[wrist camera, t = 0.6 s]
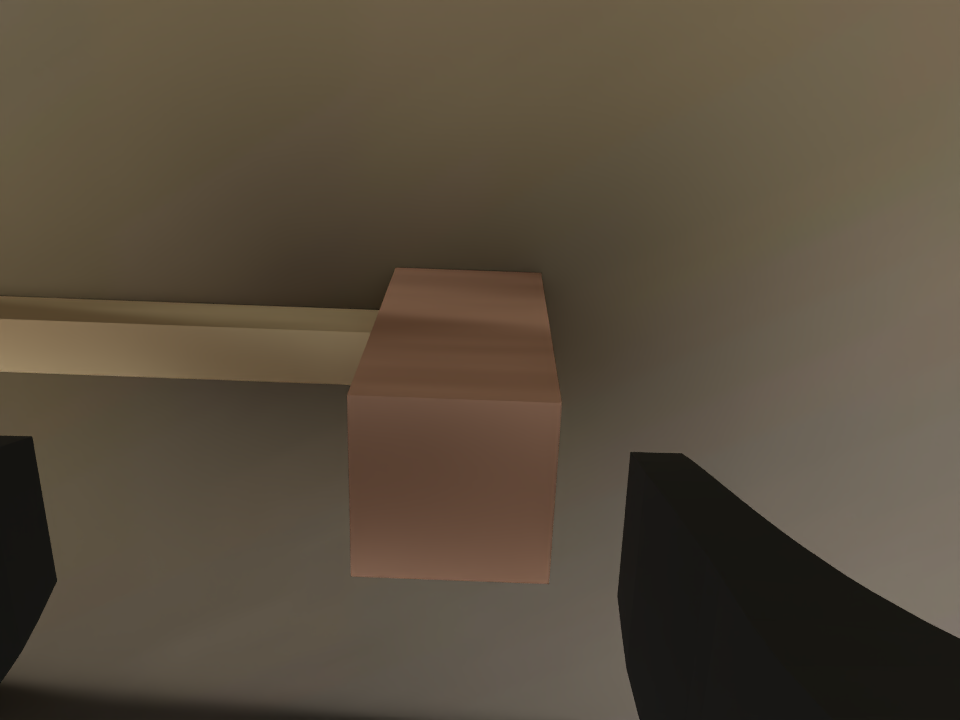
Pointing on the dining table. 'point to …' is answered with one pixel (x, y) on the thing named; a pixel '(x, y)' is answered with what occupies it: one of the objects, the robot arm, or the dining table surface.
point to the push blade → (370, 402)
